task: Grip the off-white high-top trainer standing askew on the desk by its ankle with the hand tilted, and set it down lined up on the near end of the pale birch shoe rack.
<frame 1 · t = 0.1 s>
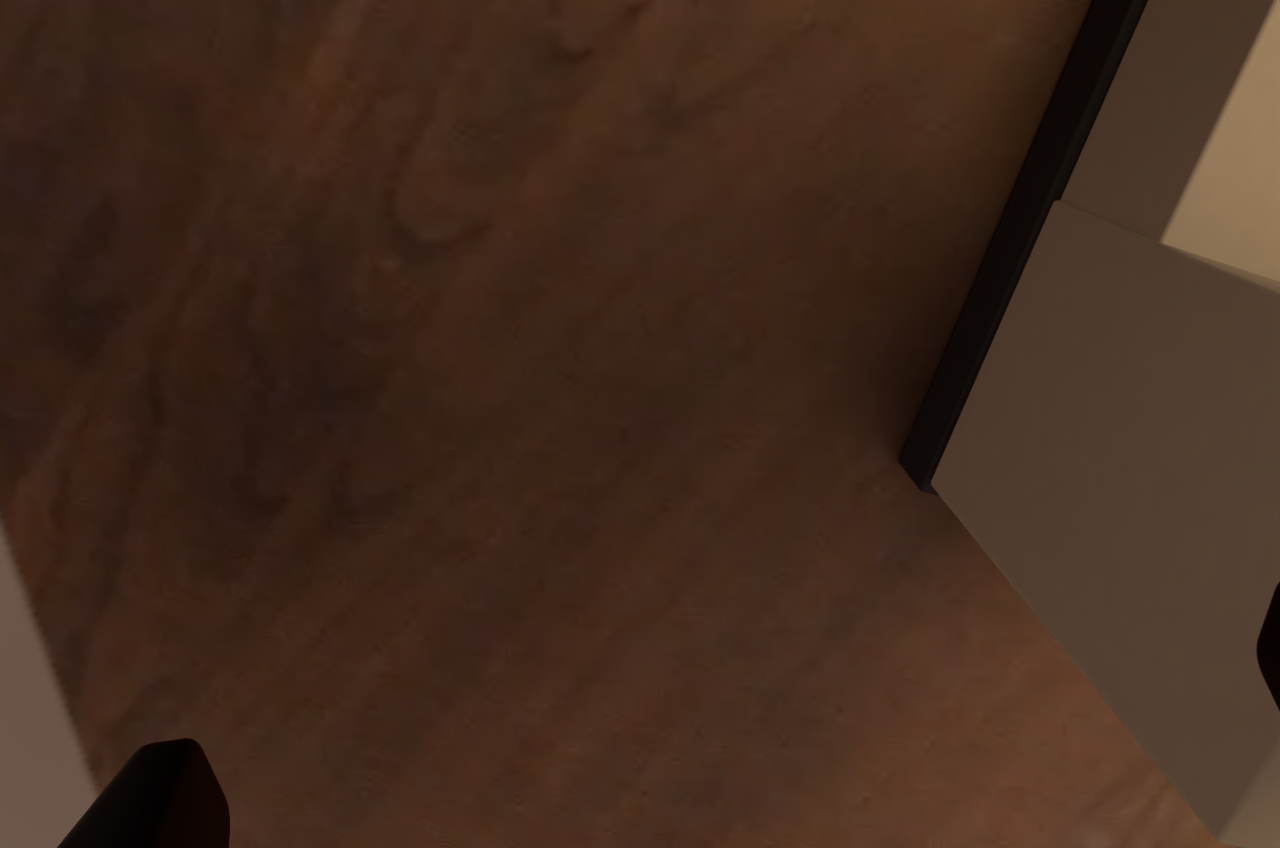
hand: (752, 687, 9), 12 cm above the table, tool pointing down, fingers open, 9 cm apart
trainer: (1078, 360, 22), on the table
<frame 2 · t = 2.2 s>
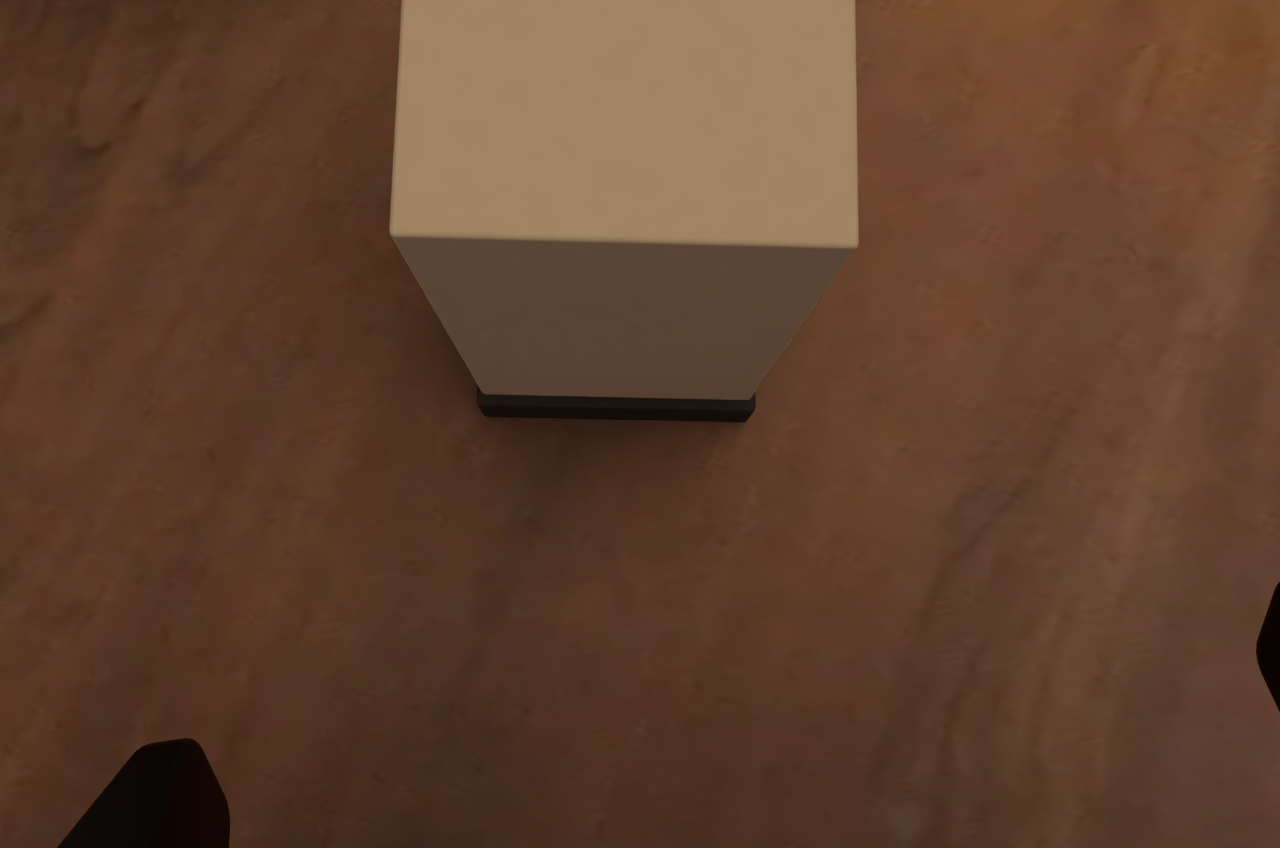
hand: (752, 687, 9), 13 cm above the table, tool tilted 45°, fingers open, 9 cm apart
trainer: (618, 278, 24), on the table
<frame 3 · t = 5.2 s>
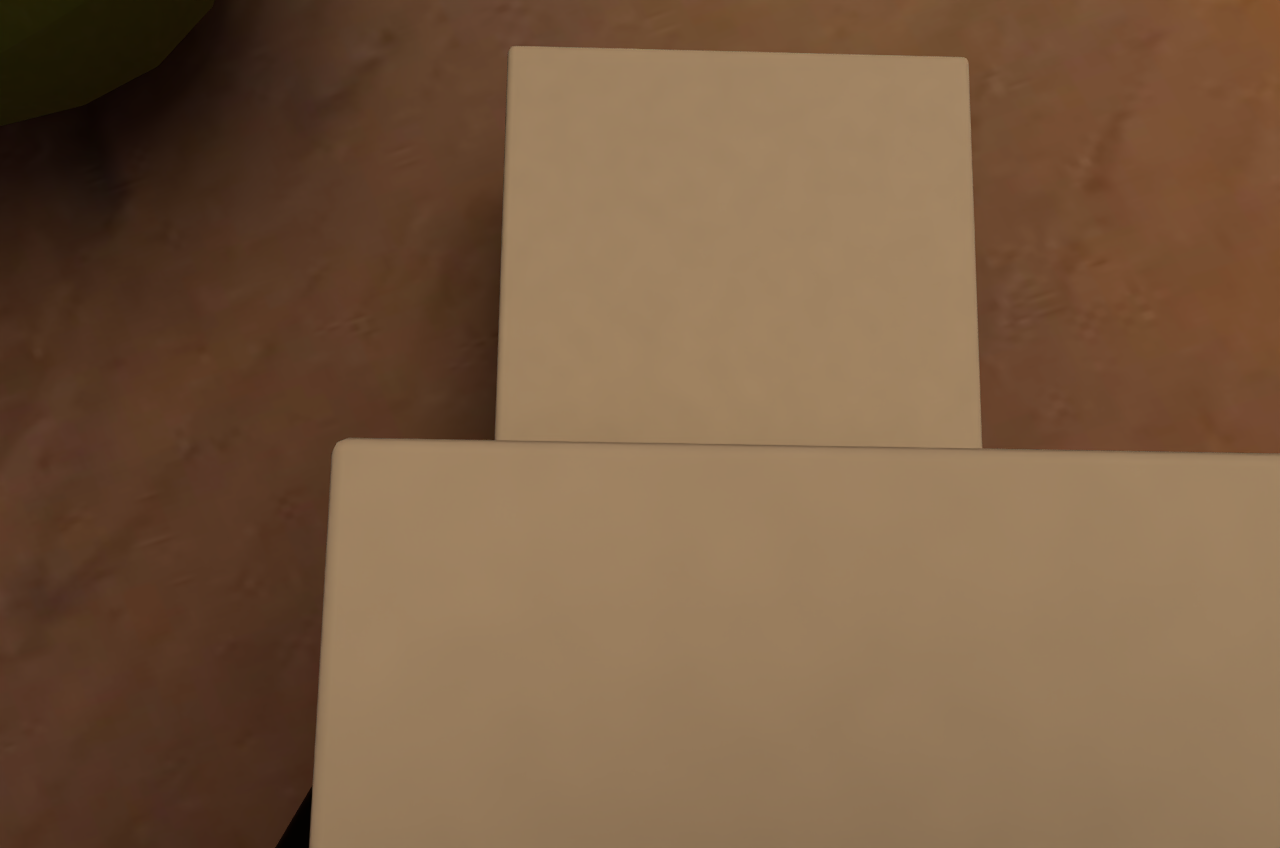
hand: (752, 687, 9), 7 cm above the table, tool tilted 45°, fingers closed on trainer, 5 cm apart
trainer: (701, 758, 16), on the table, touching gripper
apple: (95, 10, 17), on the table
when the fingers open (11 cm above the table, at t = 12.2 s): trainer stays where it is, resting on shoe rack.
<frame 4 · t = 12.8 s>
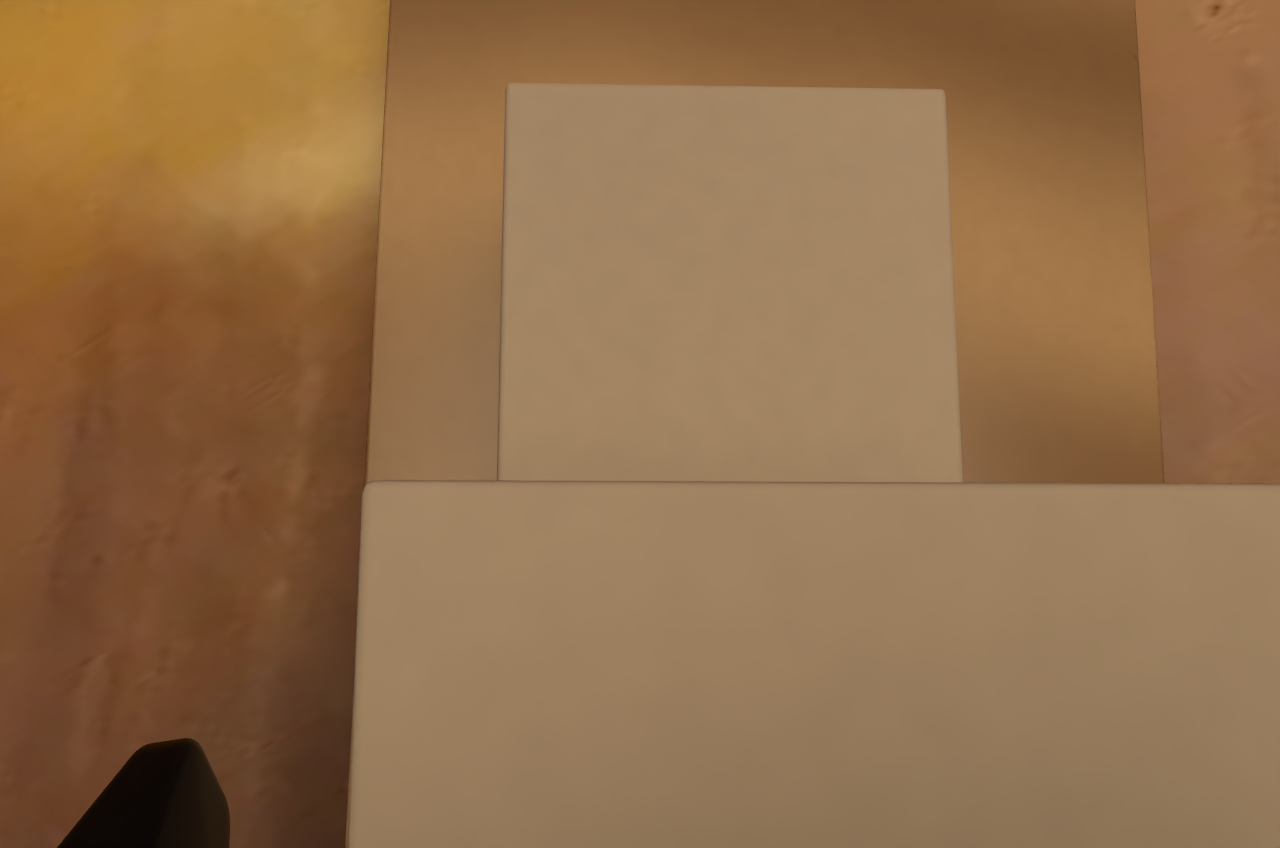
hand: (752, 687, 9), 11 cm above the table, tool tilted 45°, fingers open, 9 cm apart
shoe rack: (738, 118, 22), on the table
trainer: (698, 761, 16), point 4 cm above the table, touching shoe rack
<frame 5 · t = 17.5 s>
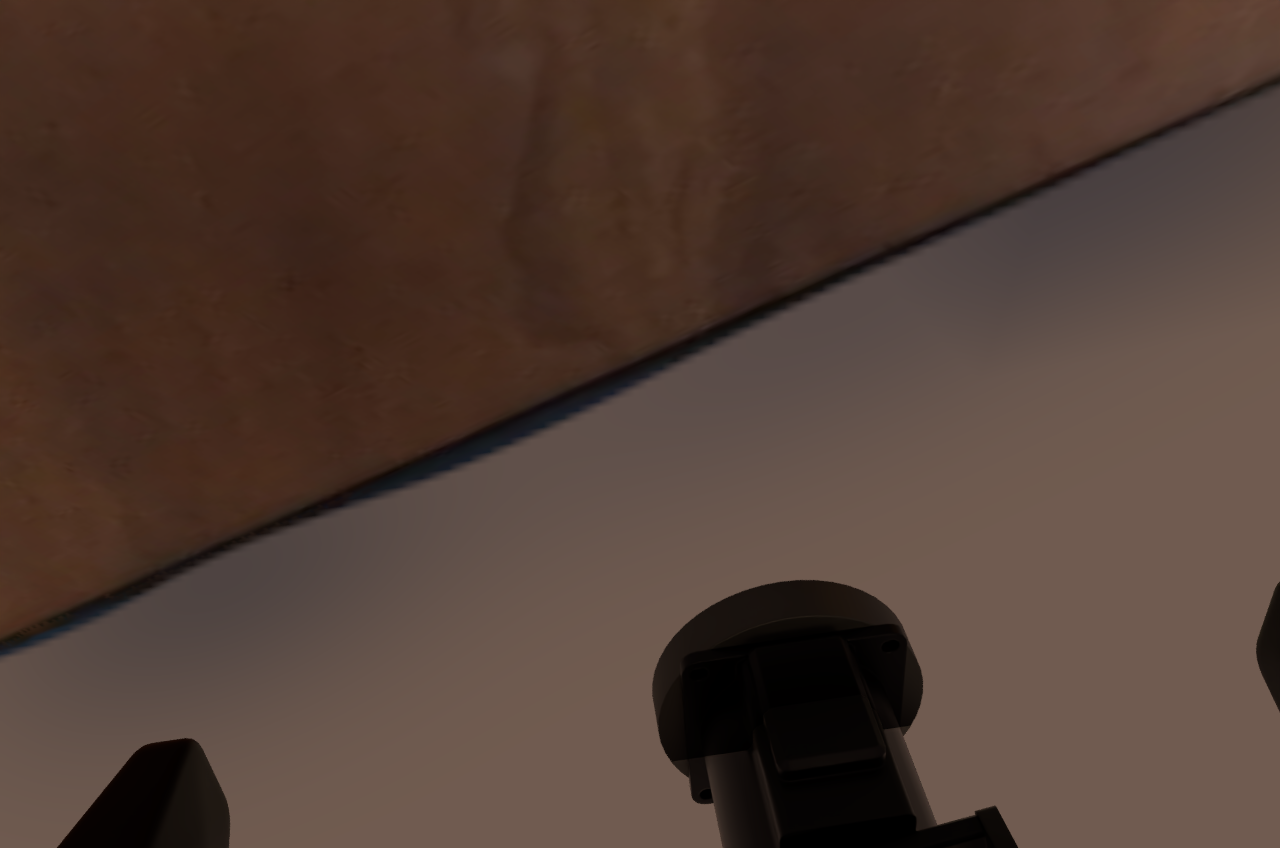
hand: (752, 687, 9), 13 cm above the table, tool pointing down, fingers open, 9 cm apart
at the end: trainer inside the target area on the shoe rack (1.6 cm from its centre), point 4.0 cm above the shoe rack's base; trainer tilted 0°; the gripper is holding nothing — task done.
